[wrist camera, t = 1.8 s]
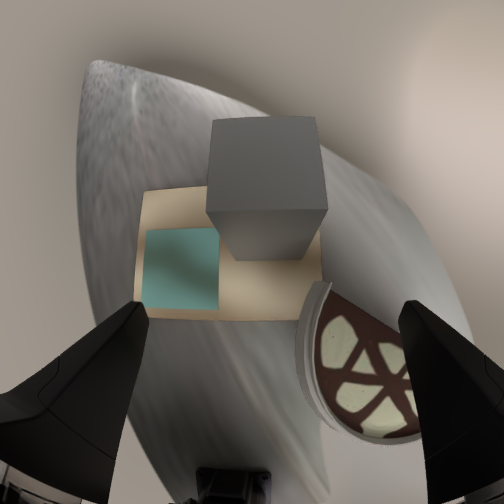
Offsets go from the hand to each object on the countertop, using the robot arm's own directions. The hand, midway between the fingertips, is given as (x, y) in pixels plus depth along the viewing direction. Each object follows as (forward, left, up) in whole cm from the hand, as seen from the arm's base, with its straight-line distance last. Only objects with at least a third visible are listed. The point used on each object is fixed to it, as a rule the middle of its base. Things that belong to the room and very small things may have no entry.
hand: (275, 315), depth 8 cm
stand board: (+5, +4, -12) cm, 14 cm away
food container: (-4, -5, -13) cm, 15 cm away
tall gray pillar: (+7, 0, -11) cm, 13 cm away
